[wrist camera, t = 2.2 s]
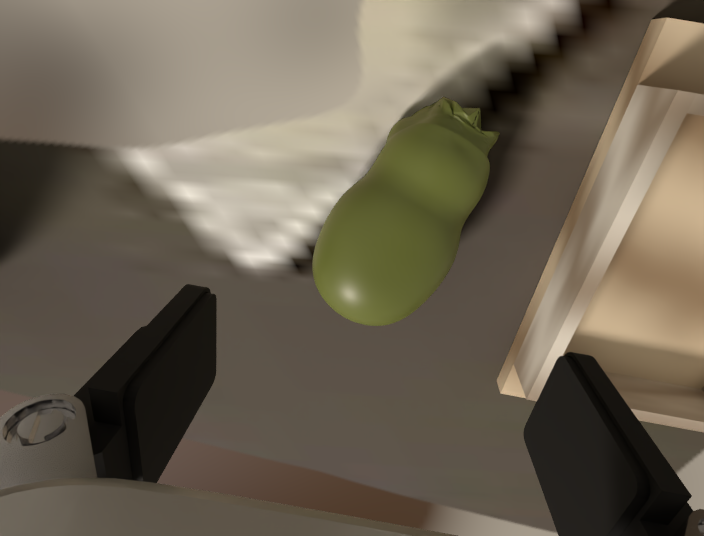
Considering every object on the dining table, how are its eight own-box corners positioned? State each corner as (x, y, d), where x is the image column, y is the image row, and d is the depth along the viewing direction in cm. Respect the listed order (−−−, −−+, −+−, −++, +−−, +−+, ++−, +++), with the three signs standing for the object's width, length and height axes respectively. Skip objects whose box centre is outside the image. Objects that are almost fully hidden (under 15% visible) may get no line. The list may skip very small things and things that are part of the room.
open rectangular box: (651, 19, 15) (717, 11, 12) (932, 66, 15) (1073, 69, 12) (496, 380, 24) (511, 430, 20) (673, 413, 23) (715, 468, 20)
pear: (279, 305, 16) (421, 58, 13) (299, 262, 21) (405, 77, 18) (400, 369, 17) (560, 151, 14) (391, 313, 22) (507, 144, 19)
